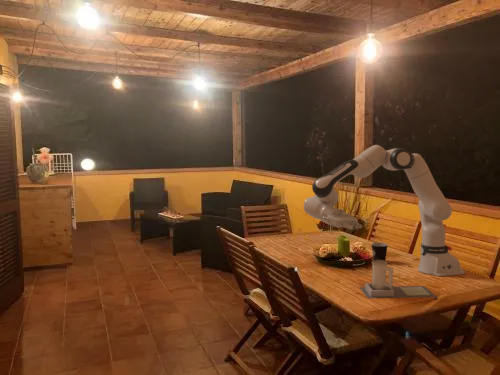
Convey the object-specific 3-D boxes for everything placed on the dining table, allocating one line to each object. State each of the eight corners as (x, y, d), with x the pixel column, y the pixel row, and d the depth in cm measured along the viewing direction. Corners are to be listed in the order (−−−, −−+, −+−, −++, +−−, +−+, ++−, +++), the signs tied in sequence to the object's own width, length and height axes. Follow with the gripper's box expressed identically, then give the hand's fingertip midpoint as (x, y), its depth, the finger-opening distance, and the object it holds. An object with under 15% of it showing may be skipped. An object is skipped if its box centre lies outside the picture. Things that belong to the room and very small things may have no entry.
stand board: (424, 288, 197) (424, 280, 197) (437, 299, 183) (437, 291, 183) (359, 289, 197) (359, 282, 197) (367, 301, 183) (367, 292, 183)
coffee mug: (388, 264, 236) (388, 246, 235) (372, 263, 238) (372, 246, 237) (385, 258, 248) (386, 241, 247) (370, 257, 249) (370, 241, 248)
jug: (368, 292, 190) (368, 262, 189) (375, 288, 195) (376, 258, 193) (388, 297, 184) (388, 266, 182) (395, 293, 188) (395, 262, 187)
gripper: (323, 210, 198) (348, 222, 190) (343, 209, 214) (368, 220, 206) (319, 223, 200) (344, 235, 191) (339, 221, 215) (363, 232, 207)
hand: (356, 227), depth 199 cm, fingers open, 8 cm apart
